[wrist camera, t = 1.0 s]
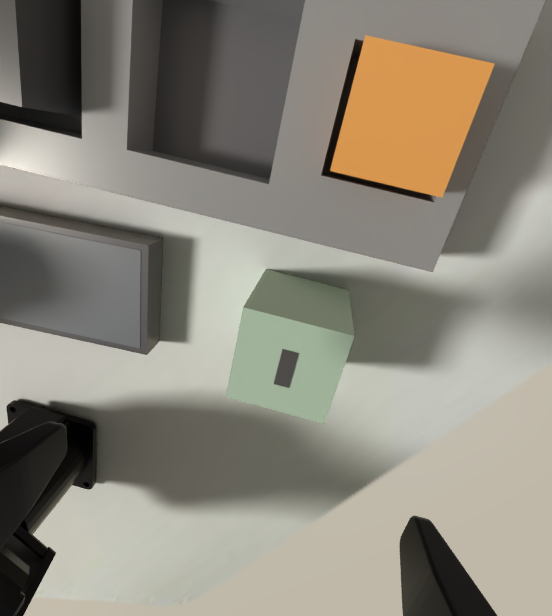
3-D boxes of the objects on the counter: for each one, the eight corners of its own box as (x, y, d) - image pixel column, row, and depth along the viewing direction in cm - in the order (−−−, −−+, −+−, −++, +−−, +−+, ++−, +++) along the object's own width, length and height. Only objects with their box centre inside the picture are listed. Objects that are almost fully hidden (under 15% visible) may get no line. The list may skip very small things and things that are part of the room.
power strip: (512, 10, 14) (607, -68, 9) (417, 254, 18) (448, 290, 13) (-59, -112, 15) (-243, -238, 10) (-28, 144, 19) (-149, 140, 14)
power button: (464, 81, 13) (494, 63, 11) (423, 190, 15) (442, 197, 13) (359, 57, 14) (365, 35, 11) (330, 168, 15) (330, 170, 13)
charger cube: (326, 360, 21) (324, 424, 16) (250, 340, 21) (225, 397, 16) (348, 289, 19) (354, 336, 14) (266, 268, 20) (243, 307, 15)
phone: (163, 337, 23) (146, 355, 21) (-13, 299, 24) (-46, 312, 22) (166, 236, 20) (148, 245, 18) (-32, 197, 21) (-71, 201, 19)
